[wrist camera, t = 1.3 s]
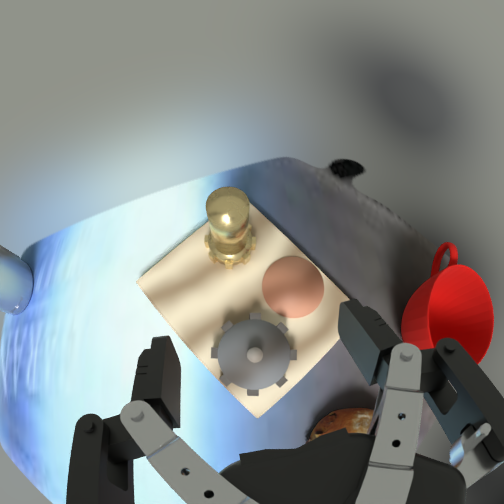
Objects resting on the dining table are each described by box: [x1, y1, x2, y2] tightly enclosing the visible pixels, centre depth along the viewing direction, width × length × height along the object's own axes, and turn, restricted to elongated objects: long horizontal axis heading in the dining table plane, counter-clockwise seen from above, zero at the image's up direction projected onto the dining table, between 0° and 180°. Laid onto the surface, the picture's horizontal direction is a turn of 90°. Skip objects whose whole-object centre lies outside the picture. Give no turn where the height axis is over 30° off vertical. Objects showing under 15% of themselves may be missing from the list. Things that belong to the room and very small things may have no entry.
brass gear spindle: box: [204, 187, 256, 269], centre depth 29 cm, size 6×6×10 cm
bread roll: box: [306, 408, 374, 443], centre depth 25 cm, size 10×10×8 cm
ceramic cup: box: [401, 242, 494, 364], centre depth 29 cm, size 13×17×10 cm
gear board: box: [136, 202, 350, 419], centre depth 31 cm, size 22×18×5 cm
